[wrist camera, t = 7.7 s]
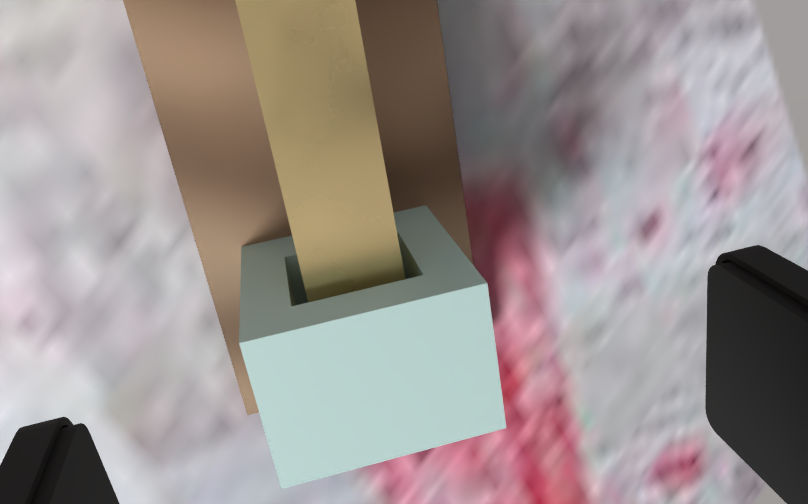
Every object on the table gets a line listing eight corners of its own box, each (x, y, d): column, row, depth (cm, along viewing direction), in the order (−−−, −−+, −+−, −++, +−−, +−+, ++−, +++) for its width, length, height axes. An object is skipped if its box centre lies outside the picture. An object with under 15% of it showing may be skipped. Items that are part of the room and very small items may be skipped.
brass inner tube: (140, -394, 17) (119, -467, 14) (267, -408, 18) (271, -482, 15) (314, 324, 25) (322, 368, 22) (399, 303, 25) (419, 344, 22)
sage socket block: (241, 247, 26) (239, 343, 19) (426, 205, 27) (487, 283, 20) (273, 363, 28) (281, 489, 21) (444, 320, 29) (506, 427, 22)
